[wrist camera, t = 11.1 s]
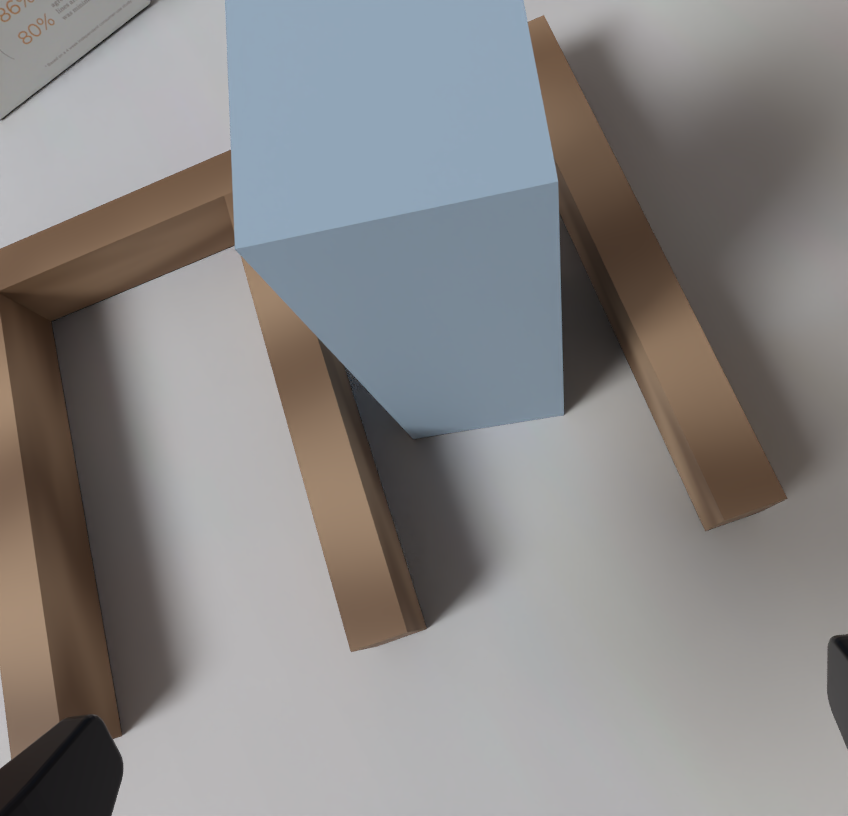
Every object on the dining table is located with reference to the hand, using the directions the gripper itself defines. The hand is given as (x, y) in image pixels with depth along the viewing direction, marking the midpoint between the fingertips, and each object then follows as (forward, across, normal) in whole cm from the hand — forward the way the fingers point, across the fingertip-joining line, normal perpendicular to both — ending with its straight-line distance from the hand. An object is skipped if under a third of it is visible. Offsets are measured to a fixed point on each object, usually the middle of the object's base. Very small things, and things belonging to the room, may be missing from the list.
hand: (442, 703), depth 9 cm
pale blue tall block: (+14, 0, 0) cm, 14 cm away
